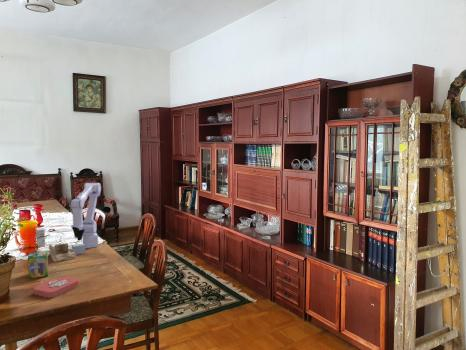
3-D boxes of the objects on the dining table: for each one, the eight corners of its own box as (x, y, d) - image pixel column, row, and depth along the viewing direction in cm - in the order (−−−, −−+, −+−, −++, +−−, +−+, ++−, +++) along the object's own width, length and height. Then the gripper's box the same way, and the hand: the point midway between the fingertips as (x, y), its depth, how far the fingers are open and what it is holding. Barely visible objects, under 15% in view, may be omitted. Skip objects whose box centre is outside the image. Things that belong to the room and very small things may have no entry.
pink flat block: (58, 274, 191) (80, 278, 186) (58, 281, 192) (80, 285, 186) (27, 286, 175) (50, 291, 169) (27, 294, 175) (51, 299, 170)
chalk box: (48, 276, 197) (47, 249, 195) (28, 279, 193) (27, 251, 191) (48, 271, 205) (47, 244, 204) (29, 273, 201) (28, 246, 200)
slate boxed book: (83, 251, 241) (83, 243, 240) (85, 253, 238) (85, 245, 237) (72, 253, 237) (72, 245, 236) (73, 255, 234) (73, 246, 233)
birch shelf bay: (69, 251, 241) (69, 241, 240) (75, 258, 228) (75, 247, 227) (49, 254, 234) (49, 244, 233) (54, 261, 221) (53, 250, 220)
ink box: (31, 247, 248) (30, 230, 247) (30, 246, 252) (29, 229, 251) (45, 246, 252) (44, 229, 251) (44, 244, 256) (43, 227, 255)
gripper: (68, 216, 239) (69, 237, 240) (73, 220, 227) (74, 242, 228) (80, 215, 243) (80, 235, 244) (85, 219, 231) (86, 240, 232)
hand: (78, 238), depth 236 cm, fingers open, 7 cm apart
